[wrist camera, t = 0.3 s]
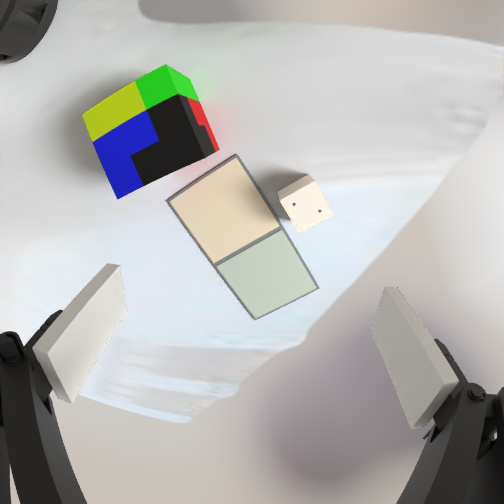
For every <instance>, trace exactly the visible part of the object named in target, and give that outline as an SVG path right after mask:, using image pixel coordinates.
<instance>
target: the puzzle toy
mask: <svg viewBox="0 0 504 504" xmlns="http://www.w3.org/2000/svg"><path fill="white" fill-rule="evenodd" d="M82 117H83V119H84V122H85V124H86V127H87V130H88V132H89V135H90V137H91V140H92V142H93V145H94V147H95V150H96V152H97V154H98V157H99V159H100V162H101V164H102V166H103V169H104V171H105V173H106V175H107V178H108V180H109V182H110V184H111V186H112V189H113V191H114V193H115V195H116V197H117V199H120V198H122V197H123V196H125V195H127V194H129V193H131V192H133V191H135V190H137V189H139V188H141V187H143V186H145V185H147V184H149V183H151V182H153V181H155V180H157V179H160V178H162V177H164V176H166V175H168V174H170V173H172V172H174V171H177V170H179V169H181V168H183V167H186V166H188V165H190V164H192V163H195V162H197V161H199V160H202V159H204V158H206V157H208V156H209V155H211V154H213V153H214V152H216V151H218V150H220V149H219V147H218V145H217V142H216V140H215V137H214V135H213V133H212V130H211V128H210V125H209V123H208V121H207V118H206V116H205V114H204V111H203V109H202V106H201V104H200V102H199V99H198V97H197V95H196V92H195V90H194V88H193V85H192V83H191V81H190V79H189V78H187V77H186V76H184V75H182V74H181V73H179V72H178V71H176V70H174V69H173V68H171V67H169V66H168V65H166V64H165V65H163V66H161V67H159V68H157V69H155V70H154V71H152V72H150V73H148V74H146V75H144V76H142V77H141V78H139V79H137V80H135V81H134V82H132V83H130V84H128V85H127V86H125V87H123V88H122V89H120V90H119V91H117V92H115V93H114V94H112V95H111V96H109V97H107V98H106V99H104V100H103V101H101V102H100V103H98V104H97V105H95V106H94V107H92V108H91V109H90V110H88V111H87V112H85V113H84V114H82Z"/></svg>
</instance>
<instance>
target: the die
mask: <svg viewBox="0 0 504 504" xmlns="http://www.w3.org/2000/svg"><path fill="white" fill-rule="evenodd" d="M277 193H278V197H279V201H280V202H281V204H282V206H283V207H284V209H285V211H286V212H287V214H288V216H289V217H290V219H291V221H292V222H293V224H294V226H295V227H296V229H297V231H298V233H299V234H300V233H302V232H303V231H305V230H307V229H309V228H311V227H312V226H314V225H316V224H318V223H320V222H321V221H323V220H325V219H327V218H329V217H330V216H332V215H333V213H332V211H331V209H330V207H329V205H328V203H327V201H326V199H325V198H324V196H323V194H322V192H321V190H320V188H319V187H318V185H317V183H316V181H315V180H314V179H313V178H312V177H311V176H310V175H309V174H308V175H306V176H304V177H302V178H301V179H299V180H297V181H295V182H293V183H292V184H290V185H288V186H286V187H285V188H283V189H281V190H279V191H278V192H277Z"/></svg>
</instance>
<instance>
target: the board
mask: <svg viewBox="0 0 504 504" xmlns="http://www.w3.org/2000/svg"><path fill="white" fill-rule="evenodd" d="M167 202H168V204H169V205H170V206H171V208H172V209H173V211H174V212H175V213H176V215H177V216H178V218H179V219H180V220H181V222H182V223H183V225H184V226H185V227H186V229H187V230H188V232H189V233H190V234H191V236H192V237H193V239H194V240H195V241H196V243H197V244H198V245H199V247H200V248H201V250H202V251H203V252H204V254H205V255H206V256H207V258H208V259H209V260H210V262H211V263H212V264H213V266H214V267H215V269H216V270H217V271H218V273H219V274H220V275H221V277H222V278H223V279H224V281H225V282H226V283H227V285H228V286H229V287H230V288H231V290H232V291H233V292H234V294H235V295H236V296H237V298H238V299H239V300H240V302H241V303H242V304H243V306H244V307H245V308H246V309H247V311H248V312H249V313H250V315H251V316H252V317H253V318H254V320H257V319H259V318H261V317H263V316H265V315H267V314H269V313H271V312H273V311H275V310H277V309H279V308H281V307H283V306H286V305H288V304H290V303H292V302H294V301H296V300H298V299H300V298H302V297H303V296H305V295H307V294H309V293H311V292H313V291H315V290H317V289H319V286H318V285H317V283H316V281H315V280H314V278H313V276H312V274H311V273H310V271H309V269H308V268H307V266H306V264H305V262H304V261H303V259H302V257H301V256H300V254H299V252H298V251H297V249H296V247H295V246H294V244H293V242H292V241H291V239H290V237H289V236H288V234H287V232H286V231H285V229H284V228H283V226H282V224H281V223H280V221H279V219H278V218H277V216H276V214H275V213H274V211H273V210H272V208H271V206H270V205H269V203H268V202H267V200H266V198H265V197H264V195H263V194H262V192H261V190H260V189H259V187H258V186H257V184H256V183H255V181H254V179H253V178H252V176H251V175H250V173H249V172H248V170H247V168H246V167H245V165H244V164H243V162H242V161H241V159H240V158H239V156H238V155H237V154H236V155H235V156H233V157H232V158H230V159H228V160H227V161H225V162H224V163H222V164H221V165H219V166H217V167H216V168H214V169H213V170H211V171H210V172H208V173H207V174H205V175H204V176H202V177H201V178H199V179H198V180H196V181H195V182H193V183H192V184H190V185H189V186H187V187H186V188H184V189H183V190H181V191H180V192H178V193H177V194H176V195H174V196H173V197H171V198H170V199H169V200H167Z"/></svg>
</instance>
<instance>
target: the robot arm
mask: <svg viewBox="0 0 504 504" xmlns="http://www.w3.org/2000/svg"><path fill="white" fill-rule="evenodd" d="M57 3H58V0H0V61H1V62H16V61H18V60H20V59H22V58H24V57H25V56H26V55H28V54H29V53H30V52H31V51H32V50H33V49H34V48H35V47H36V45H37V44H38V43H39V42H40V40H41V39H42V38H43V36H44V35H45V33H46V32H47V30H48V28H49V26H50V24H51V22H52V20H53V18H54V15H55V12H56V9H57ZM126 312H127V306H126V301H125V295H124V288H123V282H122V275H121V267H120V265H115V264H106V265H105V266H104V267H103V268H102V270H101V271H100V272H99V273H98V274H97V275H96V276H95V277H94V278H93V279H92V280H91V281H90V282H89V283H88V284H87V285H86V286H85V287H84V288H83V290H82V291H81V292H80V293H79V294H78V295H77V296H76V297H75V298H74V299H73V300H72V302H71V303H70V304H69V305H68V306H67V307H66V308H65V309H64V311H63V310H58V311H57V312H55V313H54V314H52V315H51V316H50V317H49V318H48V319H47V320H46V321H45V322H44V324H43V325H42V326H41V327H40V329H39V330H37V332H36V333H35V334H34V335H33V336H32V338H31V339H30V340H29V341H28V342H27V344H26V345H25V346H23V344H22V341H21V339H20V337H19V335H18V334H17V333H16V332H12V331H8V332H4V333H2V334H0V504H11V495H10V466H11V470H12V474H13V479H14V482H15V486H16V490H17V494H18V497H19V500H20V504H87V502H86V500H85V498H84V496H83V493H82V491H81V489H80V486H79V484H78V482H77V479H76V477H75V474H74V472H73V469H72V466H71V464H70V461H69V458H68V455H67V453H66V449H65V446H64V443H63V440H62V437H61V434H60V431H59V427H58V423H57V419H56V416H55V412H54V408H53V404H52V400H51V398H50V396H49V394H50V392H51V391H52V389H53V390H54V392H55V394H56V396H57V398H58V399H61V400H64V401H67V402H69V403H72V404H73V402H74V400H75V398H76V396H77V395H78V393H79V391H80V389H81V387H82V386H83V384H84V382H85V380H86V378H87V377H88V375H89V373H90V371H91V370H92V368H93V366H94V364H95V363H96V361H97V359H98V358H99V356H100V354H101V353H102V351H103V349H104V348H105V346H106V344H107V343H108V341H109V339H110V338H111V336H112V334H113V333H114V331H115V330H116V328H117V326H118V325H119V323H120V322H121V320H122V318H123V317H124V315H125V314H126ZM370 331H371V333H372V336H373V338H374V340H375V342H376V345H377V347H378V349H379V351H380V354H381V356H382V358H383V361H384V363H385V365H386V368H387V370H388V372H389V375H390V377H391V380H392V382H393V384H394V387H395V389H396V392H397V394H398V397H399V399H400V401H401V405H402V407H403V410H404V412H405V415H406V418H407V420H408V423H409V426H410V429H414V428H419V427H424V426H426V425H427V424H428V423H429V421H430V420H431V419H432V418H433V419H434V421H435V424H434V426H433V427H432V428H431V429H430V430H429V431H428V433H427V434H426V435H425V436H424V438H423V439H426V438H427V437H428V439H427V442H426V444H425V446H424V449H423V451H422V453H421V456H420V458H419V460H418V462H417V465H416V467H415V469H414V471H413V473H412V475H411V477H410V479H409V481H408V483H407V485H406V487H405V489H404V490H403V493H402V494H401V496H400V498H399V500H398V501H397V503H396V504H504V387H502V388H501V390H500V391H499V392H498V394H497V395H494V394H486V392H485V390H484V389H483V388H482V387H481V386H479V385H478V384H475V383H468V381H467V380H466V378H465V376H464V375H463V373H462V371H461V370H460V368H459V366H458V365H457V363H456V362H454V358H453V357H452V355H450V352H449V351H448V349H447V348H446V346H445V345H444V344H443V343H441V342H440V341H439V340H438V339H433V338H432V336H431V335H430V333H429V332H428V330H427V329H426V327H425V326H424V324H423V323H422V321H421V320H420V319H419V317H418V315H417V314H416V313H415V311H414V310H413V308H412V307H411V305H410V304H409V302H408V301H407V300H406V298H405V297H404V295H403V294H402V293H401V291H400V290H399V289H398V287H385V288H384V291H383V294H382V297H381V300H380V303H379V306H378V309H377V312H376V315H375V318H374V321H373V323H372V326H371V329H370ZM496 432H497V438H496V439H494V434H495V433H496Z"/></svg>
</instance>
